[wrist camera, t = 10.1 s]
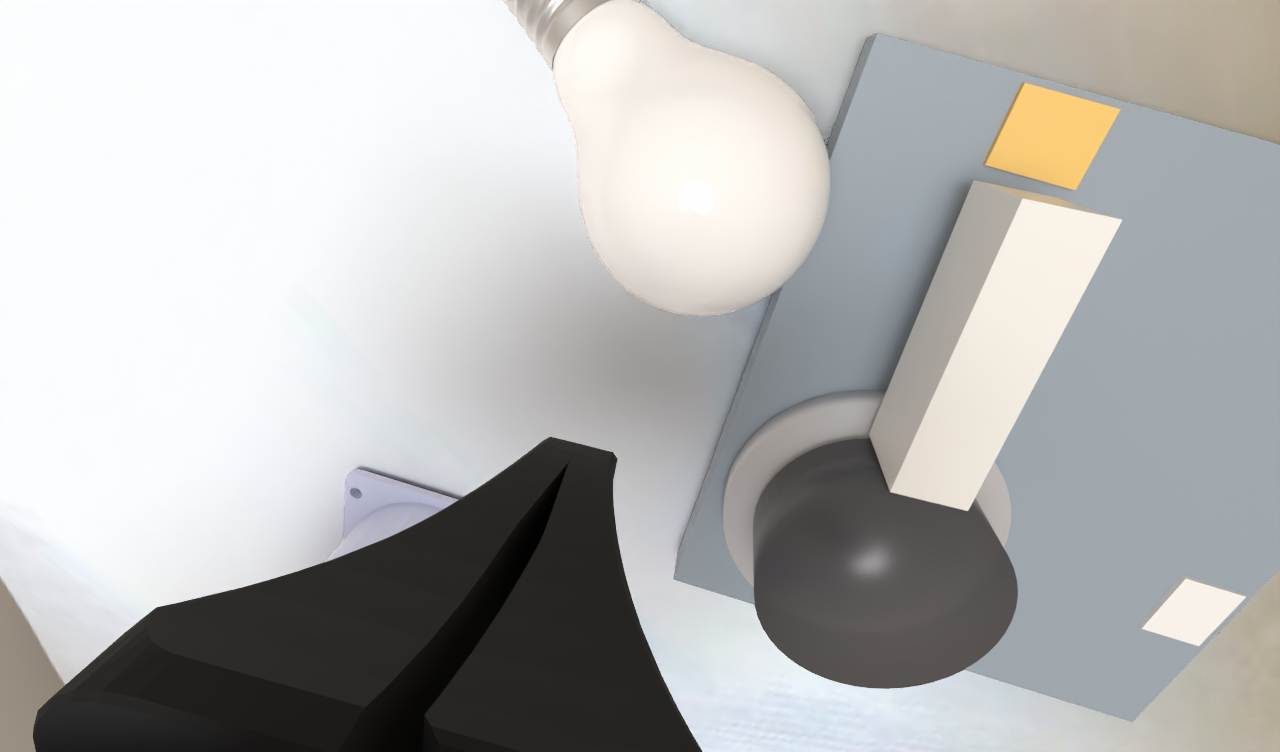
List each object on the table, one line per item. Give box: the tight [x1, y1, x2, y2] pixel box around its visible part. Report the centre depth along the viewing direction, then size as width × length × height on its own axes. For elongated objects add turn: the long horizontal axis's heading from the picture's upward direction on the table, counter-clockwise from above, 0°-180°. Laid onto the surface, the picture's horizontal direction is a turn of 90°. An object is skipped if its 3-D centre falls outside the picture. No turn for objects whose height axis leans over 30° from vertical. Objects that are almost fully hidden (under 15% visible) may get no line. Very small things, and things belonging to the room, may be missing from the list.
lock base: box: [674, 33, 1280, 722], centre depth 19 cm, size 19×18×2 cm
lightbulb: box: [503, 0, 831, 316], centre depth 16 cm, size 6×6×11 cm
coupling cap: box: [753, 180, 1122, 689], centre depth 17 cm, size 14×7×3 cm, turn 169°
